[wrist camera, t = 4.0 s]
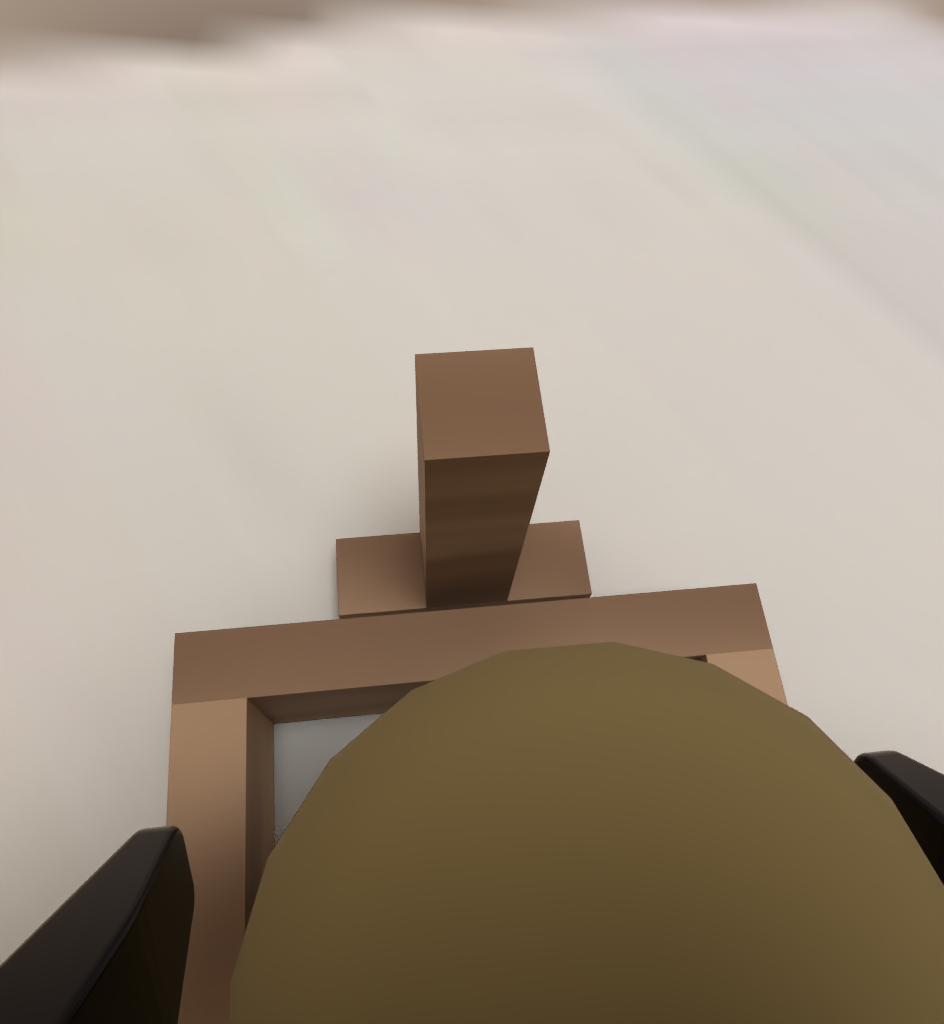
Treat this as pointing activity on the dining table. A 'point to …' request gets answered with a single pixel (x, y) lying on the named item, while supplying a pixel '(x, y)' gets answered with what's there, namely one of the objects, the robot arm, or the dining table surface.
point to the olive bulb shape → (593, 862)
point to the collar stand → (409, 635)
